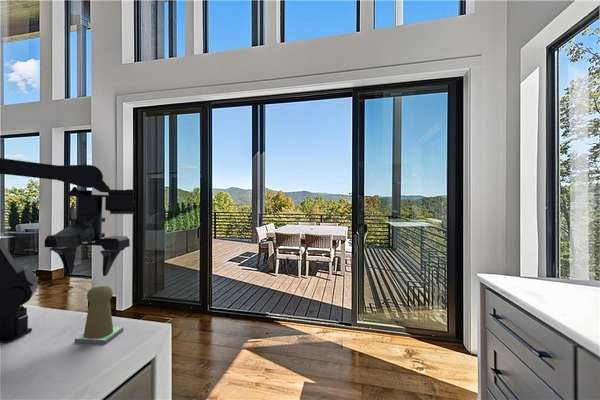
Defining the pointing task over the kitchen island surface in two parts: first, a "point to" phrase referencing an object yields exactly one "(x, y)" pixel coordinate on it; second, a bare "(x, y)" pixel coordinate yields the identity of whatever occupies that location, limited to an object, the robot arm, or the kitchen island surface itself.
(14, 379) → the kitchen island surface
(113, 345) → the kitchen island surface
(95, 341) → the plate
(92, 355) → the kitchen island surface
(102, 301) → the cork
